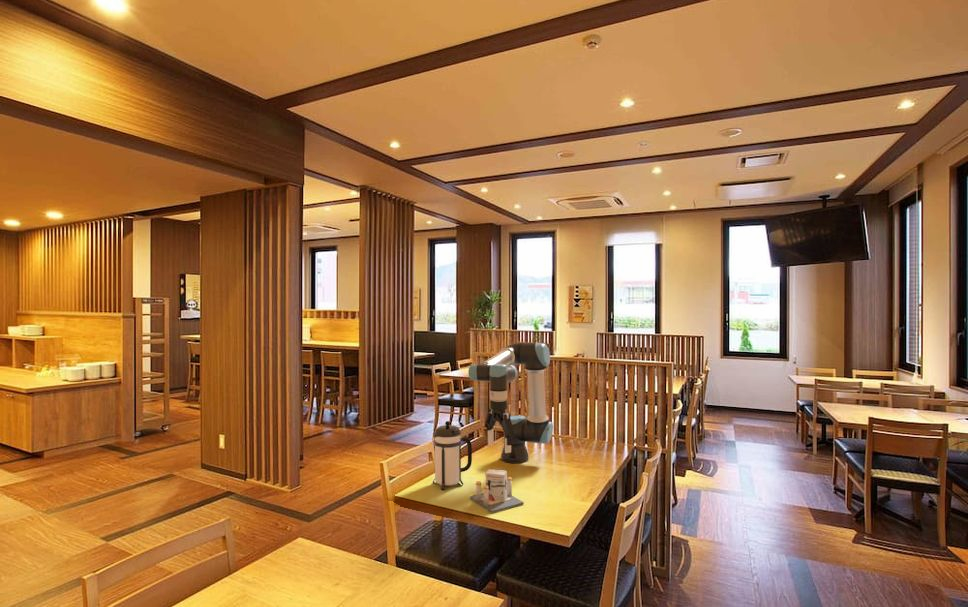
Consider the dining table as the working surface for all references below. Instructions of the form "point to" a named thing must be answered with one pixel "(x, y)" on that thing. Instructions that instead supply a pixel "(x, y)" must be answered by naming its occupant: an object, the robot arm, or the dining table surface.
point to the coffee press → (449, 455)
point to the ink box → (497, 484)
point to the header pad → (495, 505)
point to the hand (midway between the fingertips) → (499, 448)
